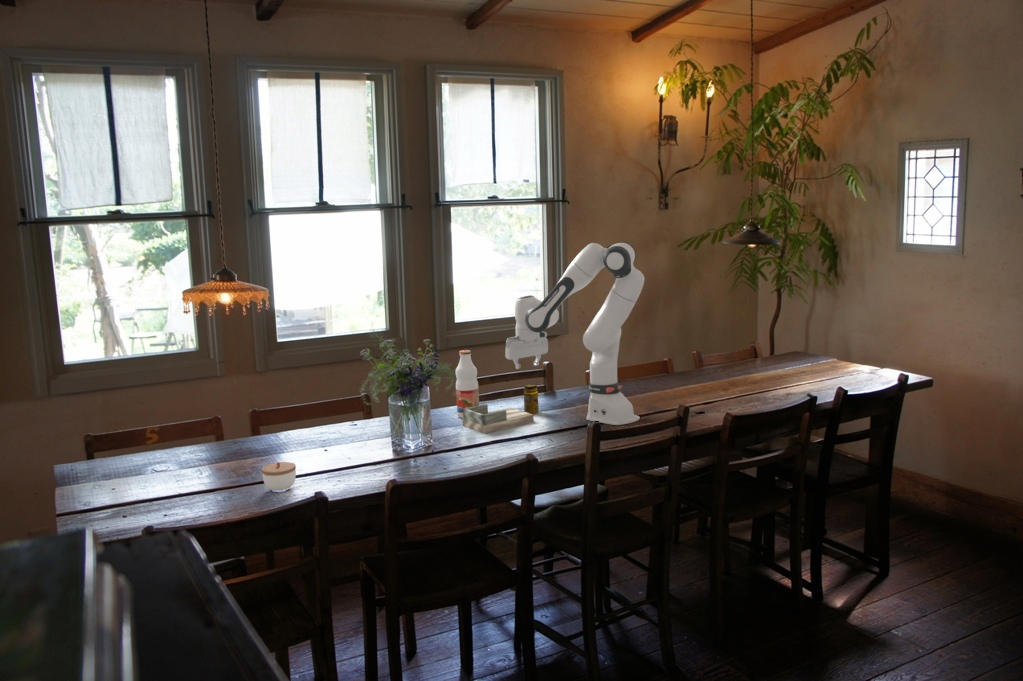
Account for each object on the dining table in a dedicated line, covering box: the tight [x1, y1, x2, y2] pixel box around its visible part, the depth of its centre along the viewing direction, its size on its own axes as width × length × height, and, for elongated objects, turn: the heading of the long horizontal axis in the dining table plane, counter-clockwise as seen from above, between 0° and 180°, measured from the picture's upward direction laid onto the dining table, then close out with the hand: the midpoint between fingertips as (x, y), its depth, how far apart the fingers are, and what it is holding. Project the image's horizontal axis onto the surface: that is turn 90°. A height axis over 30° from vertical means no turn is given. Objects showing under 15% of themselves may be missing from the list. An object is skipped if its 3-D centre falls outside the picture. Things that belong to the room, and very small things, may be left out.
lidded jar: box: [261, 461, 297, 491], centre depth 278 cm, size 11×11×9 cm
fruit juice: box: [454, 349, 480, 419], centre depth 358 cm, size 9×9×28 cm
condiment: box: [523, 383, 543, 416], centre depth 359 cm, size 7×8×12 cm
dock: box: [461, 403, 535, 434], centre depth 345 cm, size 16×24×7 cm, turn 126°
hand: (527, 367), depth 357 cm, fingers open, 8 cm apart
